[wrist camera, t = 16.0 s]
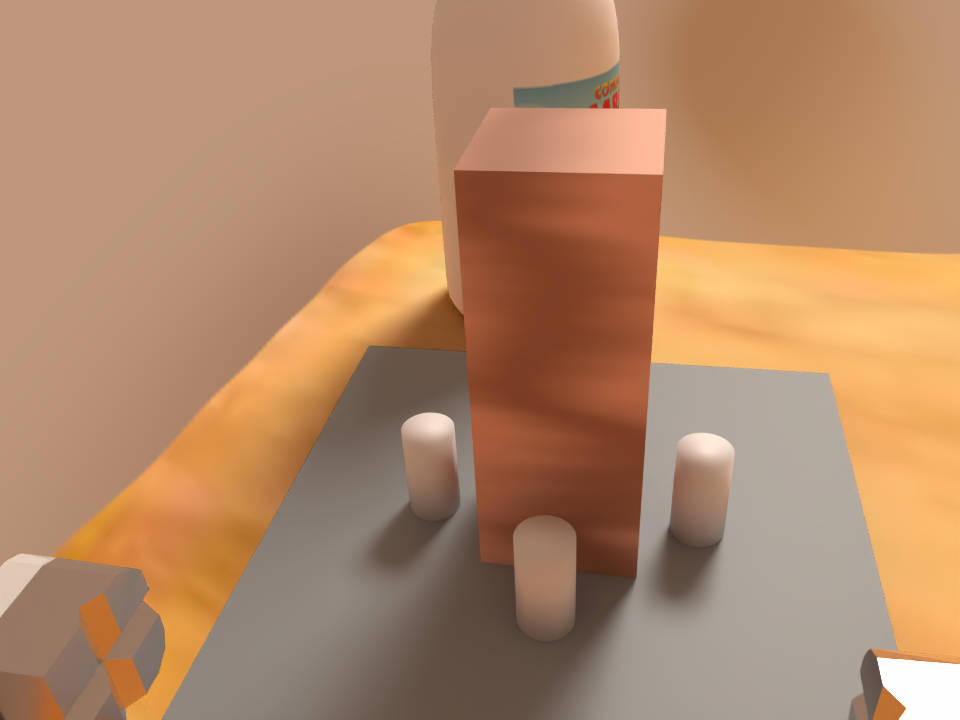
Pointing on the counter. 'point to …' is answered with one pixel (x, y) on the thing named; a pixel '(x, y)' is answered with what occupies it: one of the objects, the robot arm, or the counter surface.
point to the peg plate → (635, 633)
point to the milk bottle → (512, 76)
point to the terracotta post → (561, 321)
